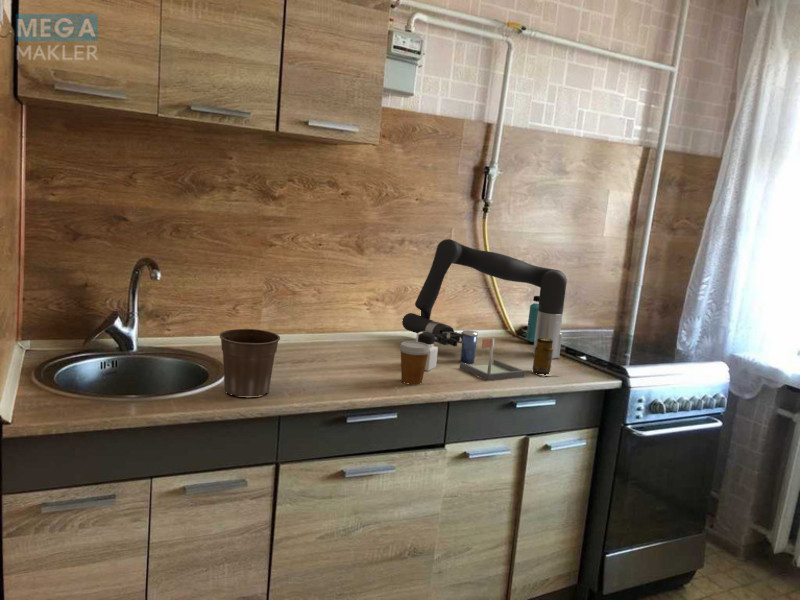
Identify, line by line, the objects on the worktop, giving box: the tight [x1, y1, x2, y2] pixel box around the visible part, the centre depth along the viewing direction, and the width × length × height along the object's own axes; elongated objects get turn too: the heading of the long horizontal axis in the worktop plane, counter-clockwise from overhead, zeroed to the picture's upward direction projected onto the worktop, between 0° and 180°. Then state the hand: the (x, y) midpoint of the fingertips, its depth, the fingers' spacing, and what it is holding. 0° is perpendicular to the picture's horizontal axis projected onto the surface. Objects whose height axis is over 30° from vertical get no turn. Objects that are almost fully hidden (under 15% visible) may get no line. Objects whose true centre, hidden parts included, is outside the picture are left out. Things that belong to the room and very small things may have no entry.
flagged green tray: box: [459, 337, 526, 382], centre depth 227 cm, size 15×20×14 cm
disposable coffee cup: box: [398, 340, 430, 385], centre depth 209 cm, size 10×10×12 cm
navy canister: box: [459, 329, 479, 365], centre depth 239 cm, size 5×5×11 cm
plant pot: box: [219, 328, 281, 397], centre depth 186 cm, size 16×16×16 cm
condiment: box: [527, 338, 553, 378], centre depth 233 cm, size 7×8×12 cm
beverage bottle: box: [525, 295, 540, 342], centre depth 278 cm, size 6×7×20 cm
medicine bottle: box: [415, 332, 439, 372], centre depth 227 cm, size 7×7×12 cm
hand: (465, 343), depth 241 cm, fingers open, 8 cm apart
